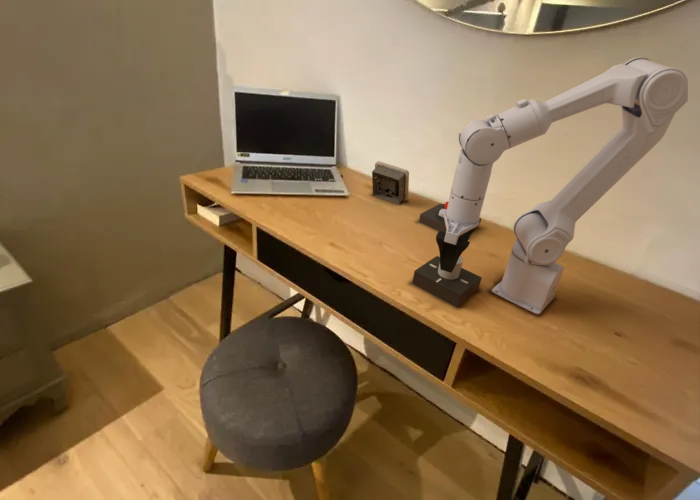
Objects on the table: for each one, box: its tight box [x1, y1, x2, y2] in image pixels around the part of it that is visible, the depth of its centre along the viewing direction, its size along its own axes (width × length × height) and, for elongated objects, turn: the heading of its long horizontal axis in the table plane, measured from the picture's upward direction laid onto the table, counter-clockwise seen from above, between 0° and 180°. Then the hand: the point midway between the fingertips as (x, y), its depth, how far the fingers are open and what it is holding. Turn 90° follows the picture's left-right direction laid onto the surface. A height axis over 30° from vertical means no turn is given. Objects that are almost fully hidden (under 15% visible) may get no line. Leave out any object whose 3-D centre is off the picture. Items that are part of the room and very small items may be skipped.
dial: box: [438, 255, 464, 280], centre depth 88 cm, size 4×4×4 cm
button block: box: [418, 203, 479, 233], centre depth 112 cm, size 11×9×4 cm
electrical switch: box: [371, 160, 410, 205], centre depth 120 cm, size 9×5×9 cm, turn 57°
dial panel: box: [411, 255, 482, 308], centre depth 90 cm, size 10×8×3 cm
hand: (451, 260), depth 87 cm, fingers open, 7 cm apart
